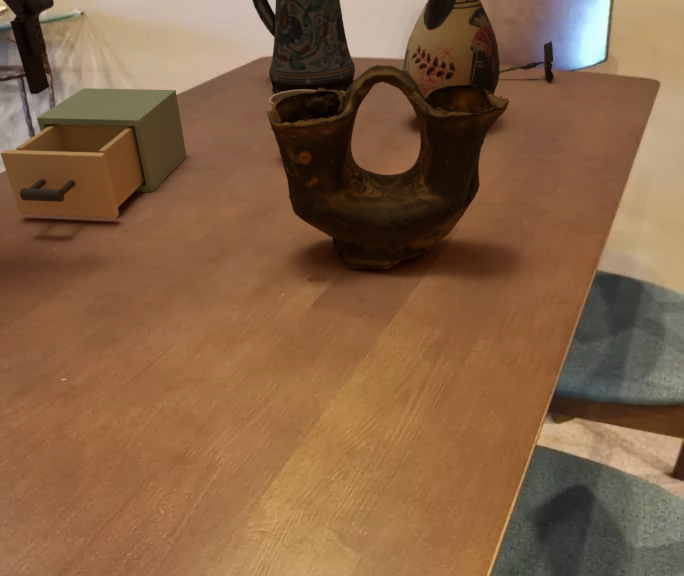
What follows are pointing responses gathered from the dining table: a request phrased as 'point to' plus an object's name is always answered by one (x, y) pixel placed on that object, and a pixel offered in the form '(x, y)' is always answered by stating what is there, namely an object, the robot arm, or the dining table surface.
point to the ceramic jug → (453, 47)
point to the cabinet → (130, 124)
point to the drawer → (75, 170)
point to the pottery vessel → (376, 189)
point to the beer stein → (307, 45)
